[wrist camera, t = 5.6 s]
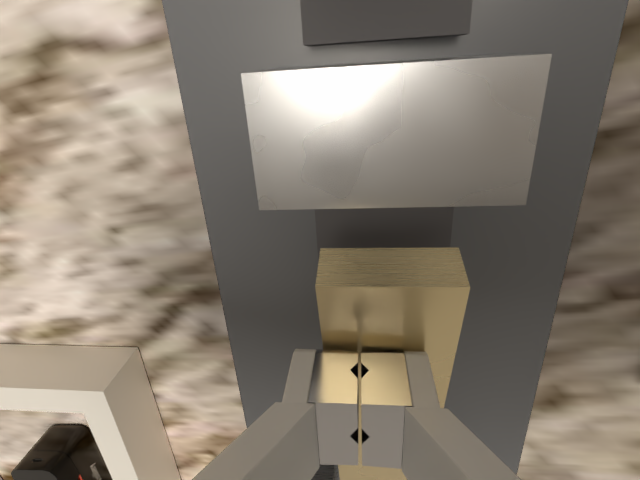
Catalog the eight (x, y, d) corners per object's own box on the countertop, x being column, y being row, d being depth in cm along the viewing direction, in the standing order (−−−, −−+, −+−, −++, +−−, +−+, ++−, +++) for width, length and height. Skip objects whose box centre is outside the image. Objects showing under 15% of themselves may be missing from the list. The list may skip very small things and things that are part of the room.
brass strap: (455, 238, 9) (474, 299, 7) (415, 475, 17) (420, 526, 15) (321, 240, 9) (313, 297, 8) (345, 471, 17) (343, 520, 16)
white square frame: (137, 347, 20) (103, 391, 18) (193, 518, 27) (174, 570, 24) (-108, 340, 22) (-173, 380, 20) (-1, 503, 29) (-39, 549, 26)
